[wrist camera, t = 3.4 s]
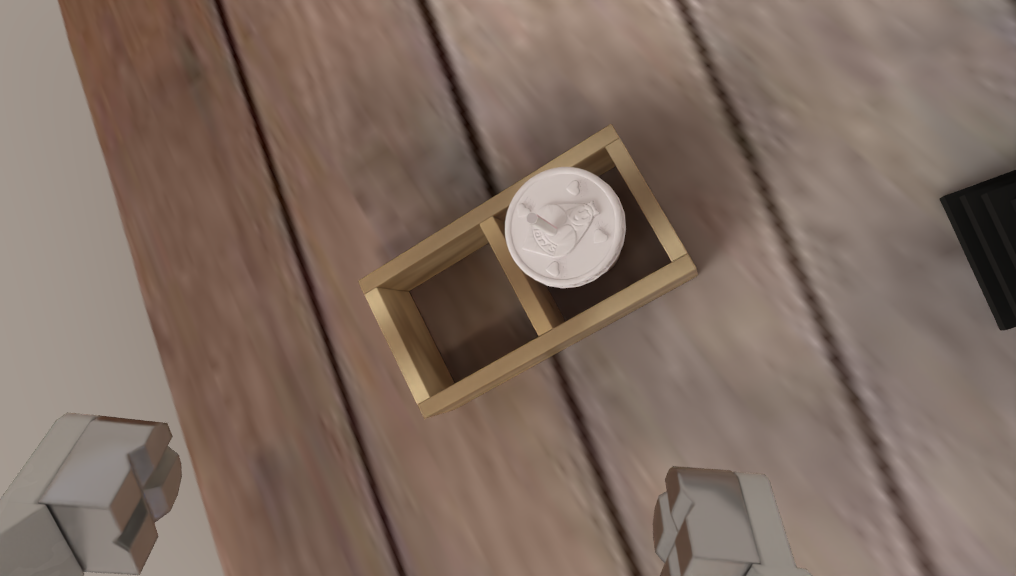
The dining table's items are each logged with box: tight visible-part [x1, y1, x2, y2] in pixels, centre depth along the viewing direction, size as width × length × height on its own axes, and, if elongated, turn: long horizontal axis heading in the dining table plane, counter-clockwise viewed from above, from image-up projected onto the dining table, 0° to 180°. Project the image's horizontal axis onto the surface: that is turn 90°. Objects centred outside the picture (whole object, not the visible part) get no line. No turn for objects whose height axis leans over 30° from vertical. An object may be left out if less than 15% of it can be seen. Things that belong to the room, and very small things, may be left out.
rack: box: [358, 124, 698, 418], centre depth 44 cm, size 10×19×5 cm, turn 119°
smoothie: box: [505, 167, 626, 288], centre depth 39 cm, size 6×6×14 cm
